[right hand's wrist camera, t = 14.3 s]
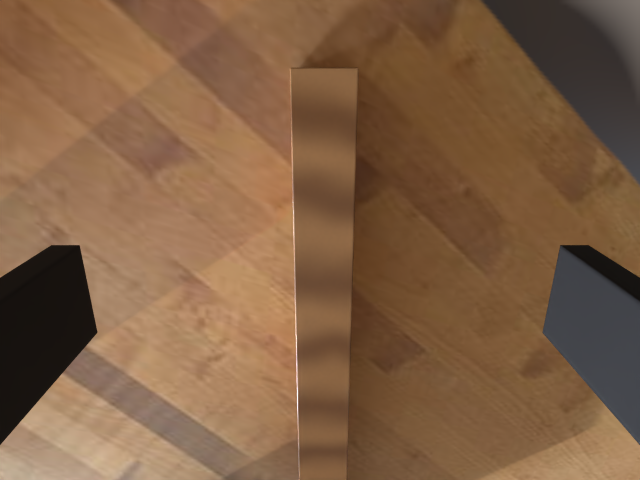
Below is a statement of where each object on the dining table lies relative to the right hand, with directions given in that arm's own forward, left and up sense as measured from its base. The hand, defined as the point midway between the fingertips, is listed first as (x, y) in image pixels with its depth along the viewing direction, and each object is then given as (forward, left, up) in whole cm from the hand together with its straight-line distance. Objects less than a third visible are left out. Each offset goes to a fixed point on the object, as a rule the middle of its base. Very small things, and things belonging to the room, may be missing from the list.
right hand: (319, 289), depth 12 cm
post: (-11, -20, -29) cm, 37 cm away
